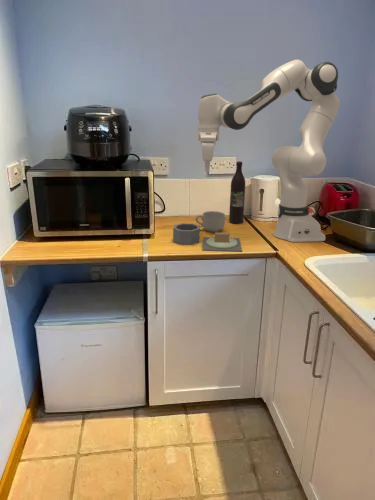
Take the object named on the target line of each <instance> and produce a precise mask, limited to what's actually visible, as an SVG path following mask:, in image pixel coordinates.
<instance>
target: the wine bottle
mask: <svg viewBox="0 0 375 500" xmlns="http://www.w3.org/2000/svg"><path fill="white" fill-rule="evenodd" d="M235 166H236V169H235V173H234V174H233V177H232V179H231V181H230V196H229V198H230V199H229V214H228V215H229V217H228V221H229V223H231V224H233V225H234V224H235V225H236V224H237V225H239V224H242V223H243V222H244V212H245V198H246V197H245V196H246V179H245V176H244V174H243V170H242V169H243V162H242V161H236V164H235Z"/></svg>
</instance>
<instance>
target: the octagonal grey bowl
mask: <svg viewBox="0 0 375 500" xmlns="http://www.w3.org/2000/svg"><path fill="white" fill-rule="evenodd" d="M172 231H173V232H172V233H173V234H172V236H173V237H172V239H173V240H172V242H173V243H175V244H178V245H184V246H186V245H187V246H192V245H196V244H198V243H199V244H200V241H201V225H200V224H196V223H185V222H183V223H177V224H175V225H173V228H172Z"/></svg>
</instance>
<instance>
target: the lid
mask: <svg viewBox="0 0 375 500" xmlns="http://www.w3.org/2000/svg"><path fill="white" fill-rule="evenodd" d="M233 238H234V237H230V232H214V236H212V238H209V239H207V240H206V244H207V245H208V246H209V247H212V248H217V249H230V248H234V247H236V246H237V241H236V240H235V239H233Z"/></svg>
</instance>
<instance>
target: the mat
mask: <svg viewBox="0 0 375 500" xmlns="http://www.w3.org/2000/svg"><path fill="white" fill-rule="evenodd" d="M212 237H213V236H212ZM212 237H211V236H210V237H207V236H203V238H202V245H201V246H202V247H201V251H202V252H203V251H205V252H232V253H233V252H234V253H236V252H239V253H242V252H243V248H242V244H241V239H240V237H232V238H233V239H235V240H236V241H237V246H236V247H234V248H230V249H217V248H212V247H209V246H208V245H207V244H206V240H207V239H209V238H212Z"/></svg>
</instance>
